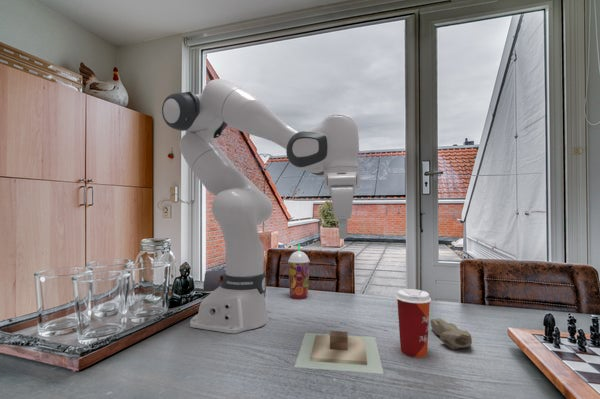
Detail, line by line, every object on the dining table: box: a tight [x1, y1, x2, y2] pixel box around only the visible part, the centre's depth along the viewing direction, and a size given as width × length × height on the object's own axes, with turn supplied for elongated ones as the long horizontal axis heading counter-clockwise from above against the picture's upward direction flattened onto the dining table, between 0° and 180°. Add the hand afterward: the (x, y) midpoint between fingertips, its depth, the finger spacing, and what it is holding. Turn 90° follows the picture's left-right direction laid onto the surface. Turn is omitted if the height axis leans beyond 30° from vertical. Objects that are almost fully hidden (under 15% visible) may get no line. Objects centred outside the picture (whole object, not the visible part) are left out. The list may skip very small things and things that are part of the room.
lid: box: [310, 330, 367, 365], centre depth 72 cm, size 12×12×4 cm
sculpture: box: [430, 317, 473, 350], centre depth 79 cm, size 7×5×15 cm
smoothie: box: [287, 243, 311, 300], centre depth 118 cm, size 8×8×20 cm
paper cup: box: [395, 288, 432, 359], centre depth 72 cm, size 8×8×14 cm
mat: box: [294, 332, 384, 375], centre depth 72 cm, size 18×18×1 cm
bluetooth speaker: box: [202, 269, 267, 294], centre depth 120 cm, size 23×9×10 cm, turn 94°
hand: (342, 237), depth 77 cm, fingers open, 8 cm apart
